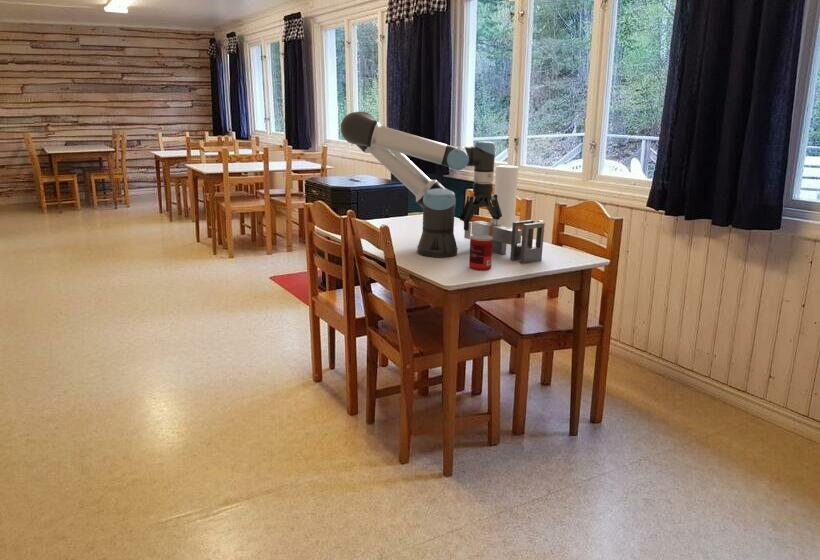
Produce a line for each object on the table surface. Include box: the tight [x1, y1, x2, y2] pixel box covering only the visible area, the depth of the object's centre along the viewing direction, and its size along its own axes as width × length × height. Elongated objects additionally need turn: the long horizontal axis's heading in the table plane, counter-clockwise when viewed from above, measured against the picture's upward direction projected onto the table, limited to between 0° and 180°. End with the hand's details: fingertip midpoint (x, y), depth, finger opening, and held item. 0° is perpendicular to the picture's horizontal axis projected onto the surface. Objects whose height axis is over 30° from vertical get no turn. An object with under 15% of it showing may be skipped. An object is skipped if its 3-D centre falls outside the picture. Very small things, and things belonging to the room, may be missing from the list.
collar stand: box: [509, 219, 546, 265], centre depth 224 cm, size 12×7×14 cm, turn 126°
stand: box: [492, 240, 508, 255], centre depth 238 cm, size 2×11×5 cm, turn 36°
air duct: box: [471, 220, 523, 246], centre depth 236 cm, size 22×5×5 cm, turn 36°
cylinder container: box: [493, 164, 519, 228], centre depth 266 cm, size 9×9×30 cm
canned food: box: [468, 234, 493, 271], centre depth 212 cm, size 8×8×11 cm
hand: (480, 236), depth 244 cm, fingers open, 13 cm apart
